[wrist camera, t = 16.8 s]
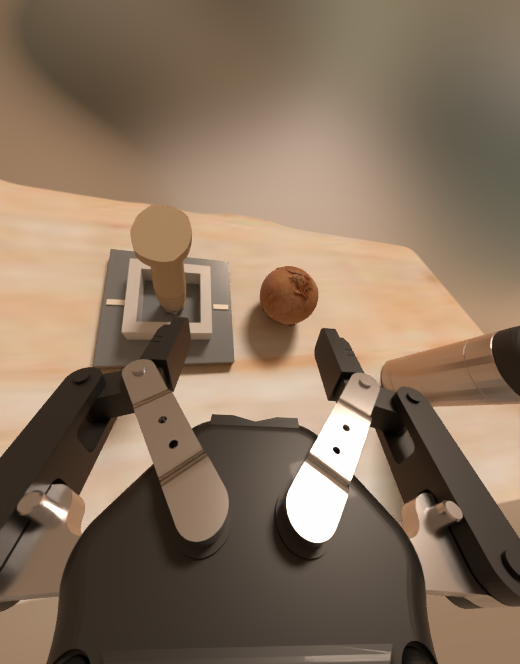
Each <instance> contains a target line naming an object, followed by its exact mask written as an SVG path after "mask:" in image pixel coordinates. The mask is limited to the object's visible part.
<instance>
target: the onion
mask: <svg viewBox="0 0 520 664" xmlns="http://www.w3.org/2000/svg"><path fill="white" fill-rule="evenodd" d="M260 301H261V304H262V307H263V310H265V311H266V313H267V314H268V317H269V318H270V317H271V318H272V319H273V320H275V321H277V322H280V323H282V324H287V325H289V326H292V325H295V323H298V322H301V321H303V320H305V319H306V318H308V317H309V316H310V315H311V314H312V312H313V311H314V309H315V307H316V305H317V301H318V288H317V286H316V284H315V282H314V281H313V279H312V278H311V277H310V276H309V274H307V273H306V272H305V271H304V270H302V269H299V268H297V267H292V266H285V267H280V268H277V269H276V270H274V271H272V272H271V273H270V274H269V275H268V276H267V277H266V278H265V280H264V282H263V284H262V287H261V290H260Z"/></svg>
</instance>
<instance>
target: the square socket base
mask: <svg viewBox="0 0 520 664" xmlns="http://www.w3.org/2000/svg"><path fill="white" fill-rule="evenodd" d="M183 264H184V272H185V280H186V298H185V305H184V308H183V309H181V310H179V311H178V313H177V314H173V313H166V312H165V311H164V310H163V307H162V306H161V304H160V303H159V301H158V299H157V297H156V294H155V291H154V287H153V280H152V274H151V267H150V266H147V265H145V264H143V263H142V262H141V261H139V260H138V259H137V257H136V255H135V252H133V251H124V250H114V249H111V251H110V258H109V264H108V271H107V277H106V284H105V291H104V297H103V304H102V310H101V317H100V323H99V330H98V337H97V343H96V350H95V356H94V363H93V367H95V368H97V369H100V368H125V367H126V366H127V365H128V364H129V363H131V362H133V361H136V360H139V359H140V357H141V355H142V354H143V352H144V351H145V349H146V347H147V346H148V344H149V342H151V339H152V338H153V337H154V334H155V333H156V331H157V329H159V328H160V327H161V326H163V325H164V324H167V325H170V323H171V321H172V319H173V318H174V317H187V318H188V319H189V326H190V334H191V345H190V349H189V352H188V354H187V357H186V360H185V362H184V365H209V364H233V363H234V347H233V331H232V314H231V297H230V280H229V263H228V262H225V261H215V260H206V259H197V258H188V257H186V258H185V259H184V260H183Z"/></svg>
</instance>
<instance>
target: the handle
mask: <svg viewBox="0 0 520 664" xmlns="http://www.w3.org/2000/svg"><path fill="white" fill-rule="evenodd" d="M130 233H131V241H132V245H133V249H134V252H135V255H136V257H137V259H138V260H139V261H141V262H142V263H143V264H145V265H147V266H150V267H151V274H152V280H153V287H154V291H155V294H156V297H157V299H158V301H159V303H160V304H161V306H162V307H163V310H164V311H165V312H166V313H173V314H177V313H178V311H179V310H181V309H183V308H184V305H185V298H186V280H185V272H184V264H183V260H184V259H185V258H186V257H187V255H188V253H189V251H190V247H191V242H192V230H191V225H190V222H189V219H188V216H187V215H186V214H185V213H183V212H182V211H180V210H178V209H176V208H173V207H170V206H166V205H151V206H149V207H148V208H146V209H145V210H143V211H142V212H141V213H140V214H139V215H138V216H137V217H136V219H135V221H134V223H133V226H132V228H131V232H130Z"/></svg>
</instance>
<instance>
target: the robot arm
mask: <svg viewBox="0 0 520 664" xmlns="http://www.w3.org/2000/svg"><path fill="white" fill-rule="evenodd" d="M190 345H191V334H190V326H189V319H188V318H187V317H174V318H173V319H172V321H171V323H170V325H167V324H164V325H163V326H161V327H160V328H159V329H157V331H156V333H155V334H154V337H153V338H152V339H151V342H149V344H148V346H147V347H146V349H145V351H144V352H143V354H142V355H141V357H140V359H139V360H136V361H133V362H131V363H129V364H128V365H127V366H126V367H125V368H124V369H123V371H119V372H114V373H108V374H102V373H101V371H100V370H99V369H97V368H94V367H88V368H83V369H79V370H77V371H75V372H73V373H71V374H70V375H69V376H67V377H66V378H65V379H64V381H63V382H62V383H61V384H60V386H59V387H58V388H57V389H56V390H55V392H54V393H53V394H52V395H51V397H50V398H49V399H48V400H47V401H46V403H45V404H44V405H43V406H42V408H41V409H40V410H39V411H38V412H37V414H36V415H35V416H34V417H33V419H32V420H31V421H30V422H29V423H28V425H27V426H26V427H25V428H24V429H23V431H22V432H21V433H20V434H19V436H18V437H17V438H16V439H15V440H14V442H13V443H12V444H11V445H10V447H9V448H8V449H7V450H6V451H5V453H4V454H3V455H2V456H1V458H0V612H1V611H4V610H6V609H8V608H10V607H12V606H13V605H15V604H16V603H17V602H19V601H20V600H26V599H37V598H47V597H58V596H59V604H58V615H57V622H56V628H55V632H54V637H53V642H52V646H51V649H50V653H49V657H48V661H47V663H46V664H438V662H437V659H436V655H435V652H434V648H433V643H432V639H431V634H430V629H429V623H428V616H427V607H426V594H432V595H442V596H446V597H447V598H448V599H449V600H450V601H451V602H452V603H454V604H455V605H457V606H458V607H461V608H464V609H473V608H494V607H513V606H514V607H516V606H520V539H519V537H518V536H517V534H516V533H515V531H514V529H513V528H512V526H511V525H510V523H509V522H508V520H507V519H506V518H505V516H504V514H503V513H502V511H501V510H500V508H499V507H498V505H497V504H496V502H495V501H494V499H493V498H492V496H491V495H490V493H489V492H488V490H487V489H486V487H485V486H484V484H483V483H482V481H481V480H480V478H479V477H478V475H477V474H476V472H475V471H474V469H473V468H472V466H471V465H470V463H469V462H468V460H467V459H466V457H465V456H464V454H463V453H462V451H461V450H460V448H459V447H458V445H457V444H456V442H455V441H454V439H453V438H452V436H451V435H450V433H449V432H448V430H447V429H446V427H445V426H444V424H443V423H442V421H441V420H440V418H439V417H438V415H437V413H436V412H435V410H434V409H433V407H437V406H469V405H501V404H520V326H517V327H512V328H509V329H505V330H502V331H498V332H494V333H490V334H487V335H483V336H479V337H475V338H472V339H468V340H464V341H461V342H457V343H453V344H449V345H446V346H442V347H438V348H434V349H431V350H427V351H423V352H419V353H416V354H412V355H408V356H404V357H400V358H397V359H393V360H390V361H388V362H386V363H385V365H384V366H383V369H382V373H381V379H382V384H383V387H384V388H382V387H380V386H379V384H378V382H377V381H376V380H375V379H374V378H372V377H371V376H369V375H367V374H365V373H364V371H363V370H362V368H361V366H360V364H359V362H358V360H357V358H356V356H355V354H354V352H353V351H352V348H351V346H350V344H349V343H348V342H347V341H346V340H345V339H344V338H339V335H338V333H337V331H336V330H335V329H328V328H322V329H321V331H320V334H319V337H318V340H317V343H316V346H315V359H316V362H317V365H318V369H319V372H320V375H321V379H322V382H323V385H324V389H325V392H326V395H327V398H328V401H336V405H335V407H334V409H333V411H332V413H331V414H330V416H329V418H328V420H327V422H326V424H325V426H324V427H323V429H322V431H321V433H320V435H319V437H318V436H317V435H316V434H315V433H313V432H312V431H310V430H309V429H307V428H305V427H302V426H299V424H298V418H279V417H277V418H272V419H267V420H262V421H257V422H254V421H251V420H247V419H244V418H241V417H237V416H234V415H215V414H212V417H211V421H209V422H205V423H202V424H200V425H198V426H196V427H194V428H191V427H190V425H189V423H188V421H187V419H186V417H185V415H184V413H183V412H182V410H181V408H180V406H179V404H178V402H177V400H176V399H175V397H174V395H173V393H172V392H174V389H175V387H176V384H177V381H178V379H179V376H180V373H181V371H182V368H183V365H184V362H185V360H186V357H187V354H188V352H189V349H190ZM131 413H135V414H136V417H137V419H138V422H139V425H140V428H141V431H142V433H143V436H144V439H145V442H146V444H147V447H148V450H149V453H150V455H151V458H152V461H153V465H152V466H150V467H149V468H148V469H147V470H146V471H145V472H144V473H143V474H142V475H141V476H140V477H139V478H138V479H137V480H136V481H135V482H134V483H132V484H131V485H130V486H129V487H128V488H127V489H126V490H125V491H124V492H123V493H122V494H121V495H120V496H119V497H118V498H117V499H116V500H114V501H113V502H112V503H111V504H110V505H109V506H108V507H107V508H106V509H105V510H104V511H103V512H102V513H101V514H100V515H99V516H98V517H96V518H95V519H94V520H93V521H92V523H91V524H90V525H89V526H88V527H87V528H86V530H85V531H84V532H83V534H81V522H82V519H83V516H84V512H85V503H84V501H83V499H82V498H81V497H80V496H79V495H80V493H81V491H82V488H83V486H84V484H85V482H86V480H87V478H88V476H89V474H90V472H91V470H92V468H93V466H94V464H95V462H96V460H97V458H98V456H99V454H100V452H101V450H102V447H103V445H104V443H105V441H106V439H107V437H108V435H109V433H110V431H111V429H112V427H113V425H114V423H115V421H116V419H117V417H118V416H123V415H127V414H131ZM369 426H370V427H373V428H375V429H376V432H377V435H378V437H379V440H380V442H381V445H382V447H383V450H384V453H385V455H386V458H387V460H388V463H389V465H390V468H391V471H392V473H393V476H394V478H395V481H396V483H397V486H398V489H399V491H400V494H401V496H402V499H403V501H404V504H405V505H404V506H403V507H402V510H401V517H402V522H403V524H402V527H401V526H400V525H399V524H398V522H397V521H396V520H395V519H394V518H393V517H392V516H391V515H390V514H389V513H388V511H387V510H386V509H385V508H384V507H383V506H382V505H381V504H380V503H379V502H378V501H377V499H376V498H375V497H374V496H373V495H372V494H371V493H370V492H369V491H368V490H367V489H366V488H365V486H364V485H363V484H362V483H361V482H360V481H359V480H358V479H357V478H356V477H355V476H354V474H353V472H354V469H355V466H356V464H357V461H358V458H359V455H360V452H361V449H362V446H363V444H364V441H365V438H366V435H367V432H368V429H369ZM407 431H408V432H409V434H410V436H411V438H412V440H413V442H414V444H413V442H412V440H411V438H410V436H409V434H408V432H407Z"/></svg>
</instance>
